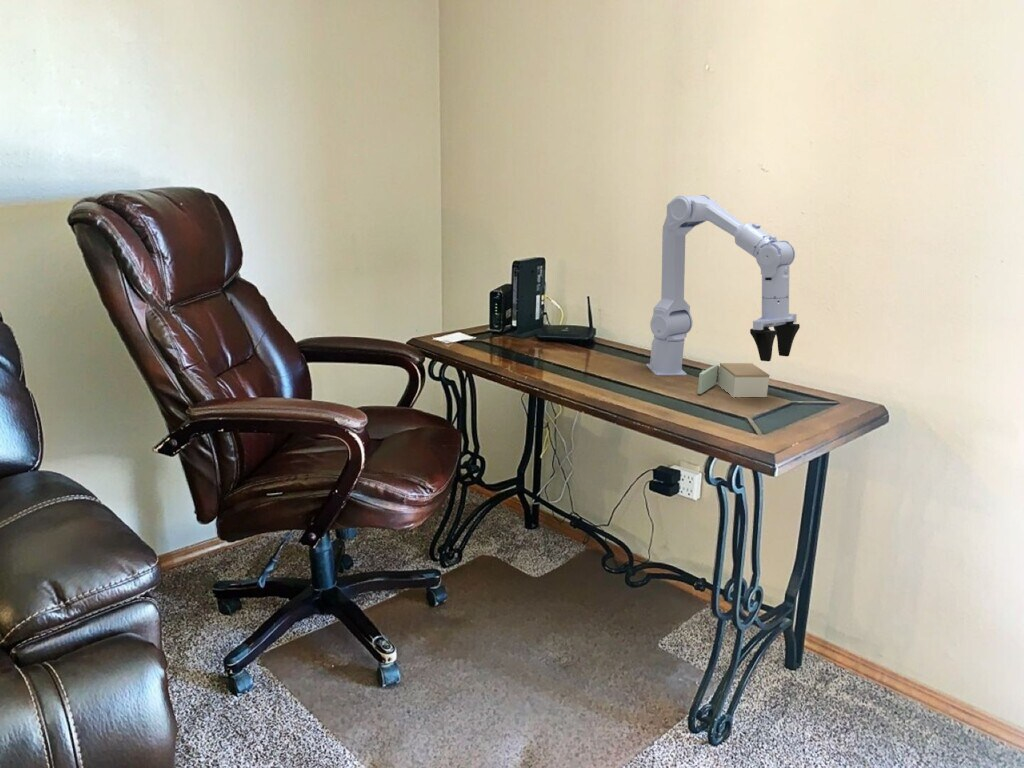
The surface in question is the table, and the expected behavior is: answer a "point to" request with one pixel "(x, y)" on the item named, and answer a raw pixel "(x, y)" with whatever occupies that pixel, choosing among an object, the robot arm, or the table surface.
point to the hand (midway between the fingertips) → (774, 358)
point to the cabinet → (743, 380)
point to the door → (708, 379)
